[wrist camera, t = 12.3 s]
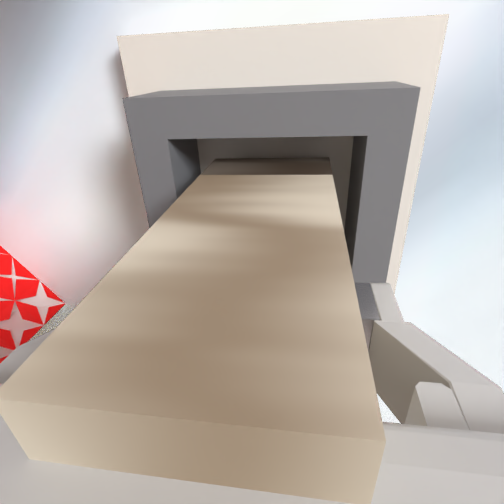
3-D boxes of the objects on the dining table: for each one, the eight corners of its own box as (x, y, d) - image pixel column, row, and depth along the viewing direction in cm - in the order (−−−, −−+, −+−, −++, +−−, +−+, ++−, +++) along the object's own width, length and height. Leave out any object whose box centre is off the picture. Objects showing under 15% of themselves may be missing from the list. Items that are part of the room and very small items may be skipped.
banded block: (228, 294, 15) (121, 604, 7) (215, 158, 12) (-9, 397, 4) (320, 298, 15) (335, 646, 6) (329, 157, 12) (386, 441, 3)
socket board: (129, 37, 13) (64, 29, 9) (438, 17, 11) (495, -1, 8) (182, 322, 20) (155, 377, 16) (380, 334, 18) (397, 399, 15)
